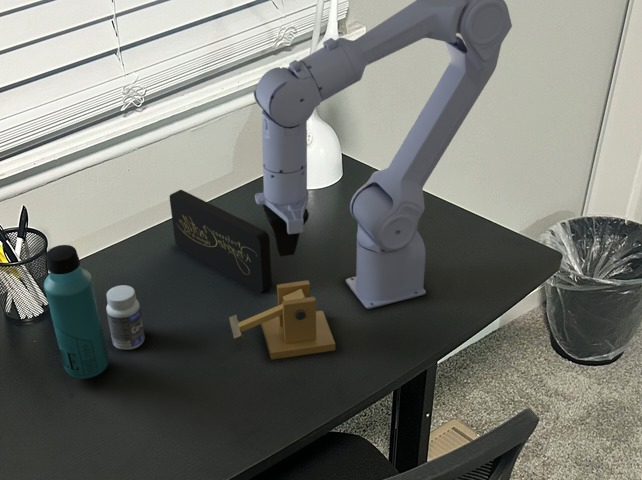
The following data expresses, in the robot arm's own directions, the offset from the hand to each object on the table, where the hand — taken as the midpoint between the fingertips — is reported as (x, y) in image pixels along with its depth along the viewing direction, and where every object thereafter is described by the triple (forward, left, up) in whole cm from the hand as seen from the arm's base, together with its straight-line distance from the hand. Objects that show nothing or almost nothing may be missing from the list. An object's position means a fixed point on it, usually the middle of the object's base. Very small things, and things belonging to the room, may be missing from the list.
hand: (286, 252), depth 127 cm
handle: (+4, +5, -7) cm, 10 cm away
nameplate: (+5, -16, -11) cm, 20 cm away
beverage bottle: (+30, +2, -11) cm, 32 cm away
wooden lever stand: (+1, +6, -10) cm, 12 cm away
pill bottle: (+23, -3, -11) cm, 26 cm away
